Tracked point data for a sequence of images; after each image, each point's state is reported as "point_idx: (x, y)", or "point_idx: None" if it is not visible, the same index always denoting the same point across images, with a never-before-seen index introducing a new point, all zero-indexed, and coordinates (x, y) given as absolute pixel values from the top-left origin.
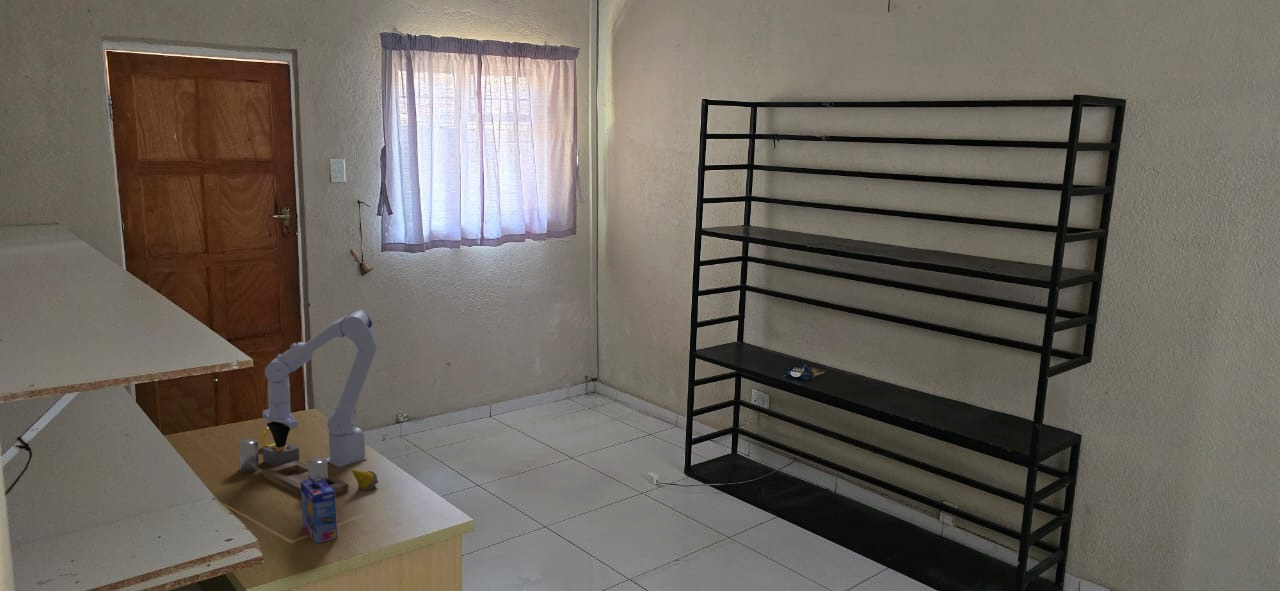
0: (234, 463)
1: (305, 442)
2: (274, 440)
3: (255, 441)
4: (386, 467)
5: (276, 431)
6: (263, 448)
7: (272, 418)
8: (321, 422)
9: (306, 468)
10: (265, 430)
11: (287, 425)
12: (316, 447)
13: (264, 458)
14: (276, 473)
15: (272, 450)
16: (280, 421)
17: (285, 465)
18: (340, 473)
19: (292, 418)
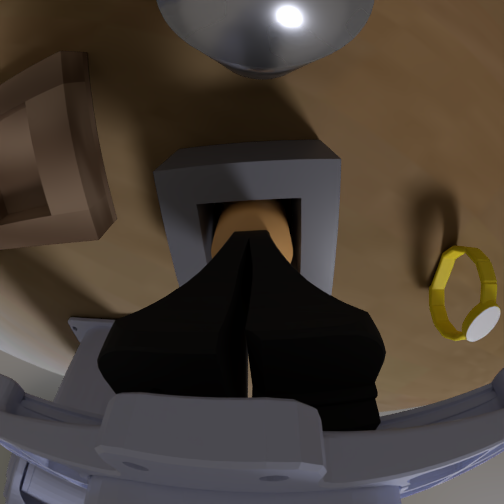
0: (397, 34)
1: None
2: (270, 246)
3: (229, 35)
4: (52, 369)
5: (149, 307)
6: (333, 161)
7: (143, 483)
8: (430, 401)
9: (9, 227)
10: (493, 293)
11: (66, 409)
12: None
13: (308, 144)
14: (5, 103)
15: (247, 186)
16: (34, 433)
17: (61, 168)
18: (35, 297)
19: (72, 482)
